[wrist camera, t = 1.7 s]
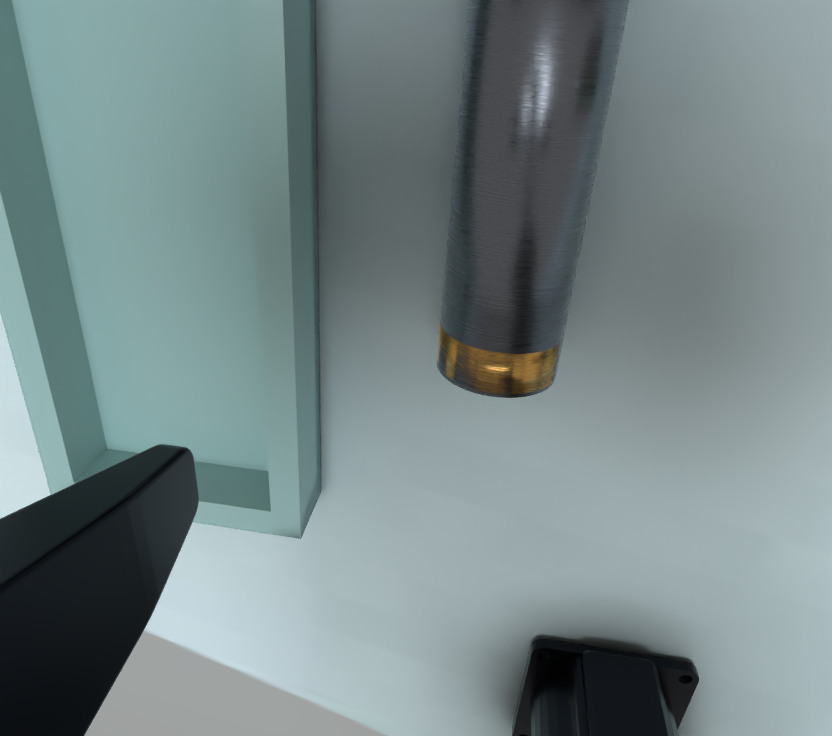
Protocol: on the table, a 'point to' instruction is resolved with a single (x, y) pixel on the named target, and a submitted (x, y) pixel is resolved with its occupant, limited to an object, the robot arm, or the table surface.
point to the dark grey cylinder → (523, 185)
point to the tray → (166, 242)
